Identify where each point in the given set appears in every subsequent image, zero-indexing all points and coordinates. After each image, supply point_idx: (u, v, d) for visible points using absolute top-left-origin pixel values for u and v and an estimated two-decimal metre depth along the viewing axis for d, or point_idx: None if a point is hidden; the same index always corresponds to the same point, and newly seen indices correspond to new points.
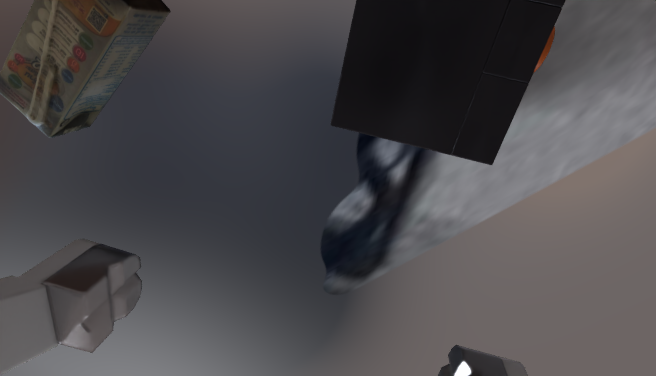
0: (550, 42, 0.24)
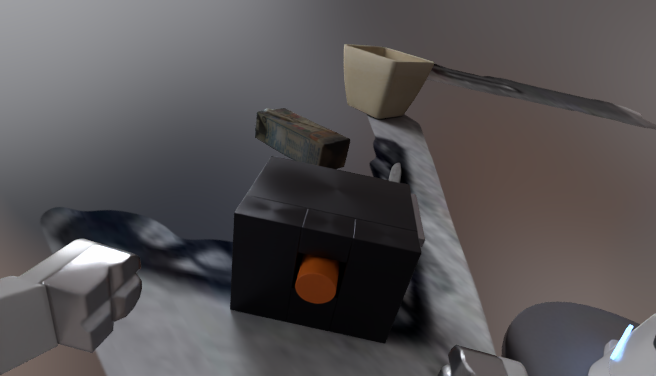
0: (324, 274, 0.29)
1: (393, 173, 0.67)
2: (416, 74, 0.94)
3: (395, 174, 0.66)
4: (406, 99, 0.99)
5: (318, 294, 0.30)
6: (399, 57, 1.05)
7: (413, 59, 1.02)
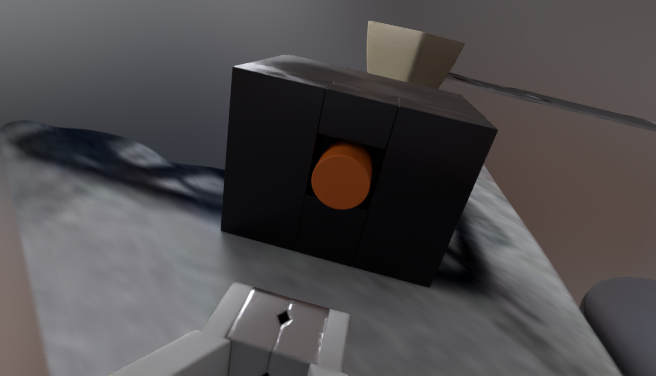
0: (355, 158, 0.20)
1: None
2: (445, 53, 0.87)
3: None
4: (433, 82, 0.92)
5: (343, 193, 0.21)
6: None
7: None
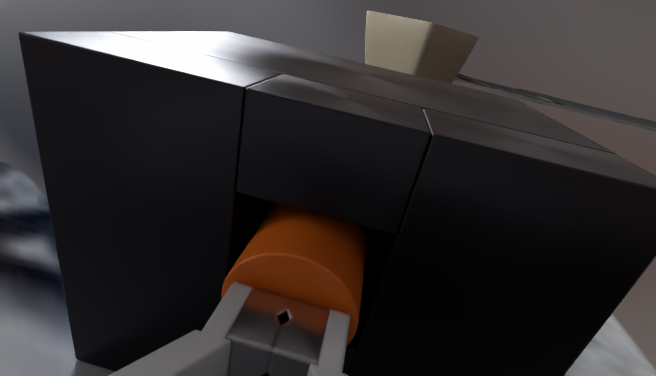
0: (320, 260, 0.08)
1: None
2: (456, 48, 0.75)
3: None
4: None
5: None
6: None
7: None
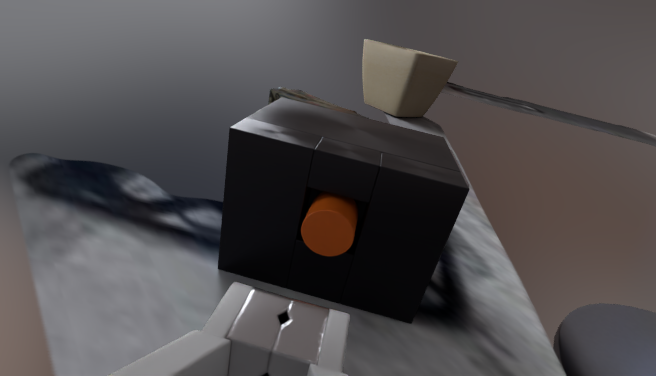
0: (340, 212, 0.22)
1: None
2: (438, 71, 0.89)
3: None
4: (427, 98, 0.94)
5: (330, 242, 0.23)
6: None
7: None
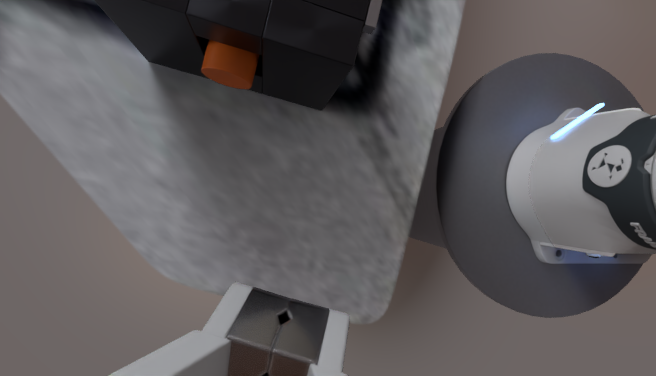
0: (232, 70, 0.23)
1: None
2: None
3: None
4: None
5: (232, 83, 0.26)
6: None
7: None
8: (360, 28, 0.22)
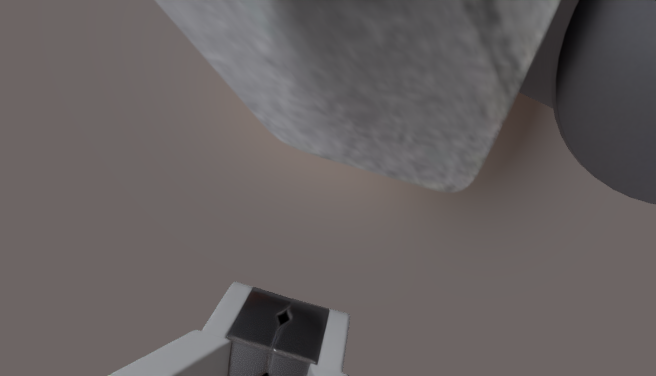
0: None
1: None
2: None
3: None
4: None
5: None
6: None
7: None
8: None
